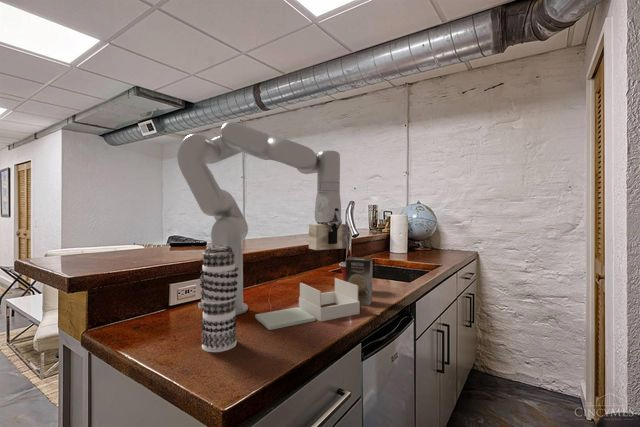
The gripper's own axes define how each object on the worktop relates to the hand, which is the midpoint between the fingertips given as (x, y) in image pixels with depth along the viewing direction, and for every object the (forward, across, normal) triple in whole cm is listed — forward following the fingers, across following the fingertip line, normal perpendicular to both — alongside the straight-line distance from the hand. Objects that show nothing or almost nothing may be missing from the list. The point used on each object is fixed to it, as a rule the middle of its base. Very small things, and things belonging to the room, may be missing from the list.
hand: (328, 242), depth 109 cm
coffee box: (+23, -3, +15) cm, 28 cm away
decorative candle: (+24, +9, -38) cm, 45 cm away
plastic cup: (+23, -17, +22) cm, 36 cm away
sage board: (+23, 0, -16) cm, 28 cm away
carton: (+23, 0, 0) cm, 23 cm away
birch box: (+2, 0, 0) cm, 2 cm away
